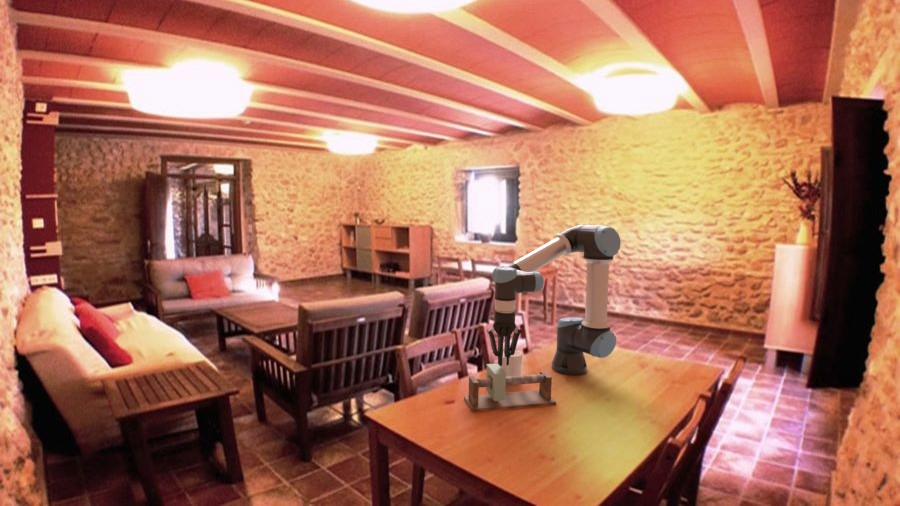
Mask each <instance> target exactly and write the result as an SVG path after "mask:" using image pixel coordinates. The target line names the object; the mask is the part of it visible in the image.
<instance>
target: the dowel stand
mask: <svg viewBox="0 0 900 506" xmlns="http://www.w3.org/2000/svg"><path fill="white" fill-rule="evenodd" d="M552 379H553V377H552V376H551V375H550V374H549V373H547V372H546V371H544V370H543V371H540V372H539V374H528V375H520V376H512V377H506V385H505V386H517V385H527V384H528V385H529V384H539V385H538V386H539V388H538V389H537V390H526V391H525V390H524V391H513V392H512V391H511V392H505V400H504V401H494V400H493V399H492V397H491V396H490V395H489V393H486V394H480V393H479V388H486V387H492V377H491V378H485V377H484V378H476V376H475V375H474V376H473V375H472V376H468V395H464V396H463V398H464V401H465V403H466V405H467V406H468V408H469V410H470V411H471V413H475V412H486V411H497V410H498V411H499V410H509V409H521V408H531V407H535V408H536V407H543V406H556V405H557V401H556V400H555V399H554V398H553V397H552V383H553V381H552Z"/></svg>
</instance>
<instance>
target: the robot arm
mask: <svg viewBox="0 0 900 506" xmlns="http://www.w3.org/2000/svg"><path fill="white" fill-rule="evenodd" d="M621 243H622V241H621V237H620V235H619V232H618V231H617V230H616V229H615V228H613V227H611V226H608V225H607V226H606V225H595V224H593V225H590V224H578V225H575V226H573V227H570V228H567V229H565V230H563V231H562V232H559V233H558V234H556V235H555V236H554V237H553V239H551V240H550V241H549V242H547V243H545V244H543V245H541V246H540V247H538V248H537V249H535V250H533V251H531V252H529V253H527V254H525V255H524V256H522V257H520V258H519V259H517V260H515V261H513V262H512V263H510V264H508V265H506V266H504V265H502V266H500V265H499V266H496V267H495V268H494V269H493V271H492V272H491V274H492V275H491V278H492V281H493V282H494V310H495V311H494V313H493V314H494V315H493V317H494V318H493V321H494V322H493V325H492V327H490V328H487V329H486V333H487V334H488V336H489V341H490V345H491V350H492V354H493V355H494V356H495V357H497V364H498V365H499V366H500V368H501V369H502V370H503V371H504V372H505V373H506V365H509V358H510V356H511V355H514V353H515V349H516V350H517V344H518V340H519V337H520V335H521V334H522V332H523V331H522V330H523V329H521V328H519V327H517V324H516V301H517V294H524V293H535V292H539V291H541V290H542V289H543V288H544V284H545V281H544V276H543V274H542V273H541V272H539V271H538V270H540V269H541V268H543V267H545V266H546V265H548V264H550V263H552V262H553V261H555V260H556V259H558V258H560V257H562V256H568V255H570V254H573V253H583V260H584V261H585V262H586V284H585V287H586V289H585V311H584V313H585V315H584V318H582V317H576V316H575V317H573V316H571V317H570V316H569V317H562V318H559V320H558V321H557V327H556V349H555V350H556V351H555V354H554V356H553V359H552V361H551V368H552V369H553V371H555V372H557V373H559V374H560V373H561V374H563V375H568V376H569V375H572V376H573V375H574V376H577V375H578V376H579V375H583V374H586V373H587V370H588V366H587V362H586V361H587V360H586V359H585V358H586V356H585V354H587V355H590V356H592V357H595V358H599V359H604V358H607V357H609V356H610V355H611V354H612V352H613V351H614V350H615V348H616V344H617V335H616V334H615V333H614V332H613V331H611V323H610V322H609V321H608V304H609V303H608V301H609V300H608V299H609V280H610V279H609V277H610V276H609V274H610V273H609V272H610V263H611V262H612V261H614V257H615V256H616V255H617V254H618V253H619V250H620V249H621ZM495 332H496V334H497V343H496V338H495ZM512 334H513V335H512ZM511 335H512V336H511ZM511 337H512V338H511ZM503 349H504V354H505V356H504V355H503ZM584 353H585V354H584Z"/></svg>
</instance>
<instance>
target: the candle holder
mask: <svg viewBox="0 0 900 506" xmlns="http://www.w3.org/2000/svg"><path fill="white" fill-rule="evenodd" d="M503 355H504V356H505V354H504V348H503ZM523 355H524V354H523V351H521V350H518V349H517V348H516V349H515V353H514V355H511V356H510V358H509V365H506V377H512V376H522V374H521V373H522V363H523Z"/></svg>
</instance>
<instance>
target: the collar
mask: <svg viewBox="0 0 900 506" xmlns="http://www.w3.org/2000/svg"><path fill="white" fill-rule="evenodd" d="M485 371H486V378H491V377H492V387H485V390H486V392H487V394H489V395H490V396H491V397H492V399H493V400H494V401H504V400H505V393H506V386H507V385H506V373H505V372H504V371H503V370H502V369H501V368H500V366H499V365H498V363H486V370H485Z"/></svg>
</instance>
